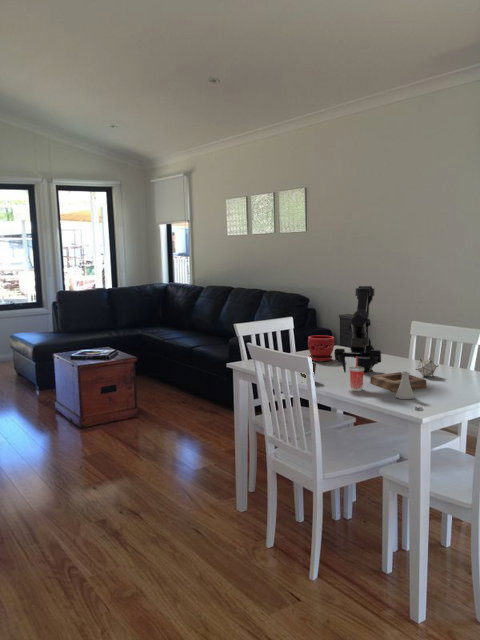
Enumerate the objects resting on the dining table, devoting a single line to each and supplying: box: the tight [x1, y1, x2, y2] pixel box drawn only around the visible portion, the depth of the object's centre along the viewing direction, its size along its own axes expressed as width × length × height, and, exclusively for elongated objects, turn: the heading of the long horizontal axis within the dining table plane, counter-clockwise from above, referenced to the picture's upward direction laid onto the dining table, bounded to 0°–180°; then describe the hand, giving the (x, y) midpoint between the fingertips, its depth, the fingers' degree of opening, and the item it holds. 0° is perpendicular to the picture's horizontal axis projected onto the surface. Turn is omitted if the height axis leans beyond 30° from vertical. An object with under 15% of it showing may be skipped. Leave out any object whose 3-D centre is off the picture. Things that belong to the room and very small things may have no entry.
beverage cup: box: [348, 356, 365, 392], centre depth 235 cm, size 6×6×14 cm
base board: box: [369, 371, 427, 393], centre depth 241 cm, size 16×16×3 cm
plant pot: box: [307, 334, 335, 362], centre depth 294 cm, size 13×13×12 cm
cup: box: [299, 362, 317, 378], centre depth 251 cm, size 8×7×8 cm
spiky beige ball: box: [415, 357, 439, 378], centre depth 255 cm, size 9×8×10 cm
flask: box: [395, 370, 415, 400], centre depth 223 cm, size 7×7×10 cm
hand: (356, 372), depth 234 cm, fingers open, 9 cm apart
